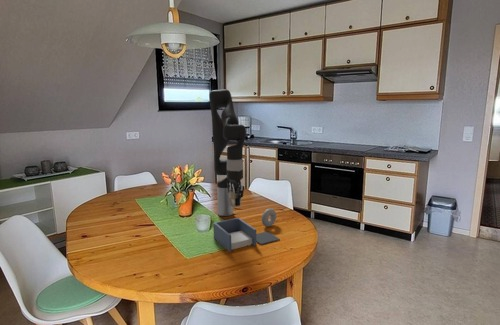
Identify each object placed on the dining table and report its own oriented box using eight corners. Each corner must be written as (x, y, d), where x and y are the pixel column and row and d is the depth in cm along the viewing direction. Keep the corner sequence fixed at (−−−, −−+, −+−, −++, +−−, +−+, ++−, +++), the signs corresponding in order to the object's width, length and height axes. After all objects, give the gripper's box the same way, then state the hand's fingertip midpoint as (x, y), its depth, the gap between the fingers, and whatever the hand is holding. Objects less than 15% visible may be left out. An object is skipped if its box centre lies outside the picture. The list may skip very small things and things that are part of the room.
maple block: (229, 205, 149) (229, 190, 147) (237, 203, 151) (237, 189, 149) (233, 207, 145) (233, 193, 144) (241, 206, 147) (241, 191, 146)
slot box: (213, 237, 157) (213, 222, 156) (238, 232, 164) (238, 217, 162) (229, 252, 142) (229, 235, 140) (256, 245, 148) (256, 229, 147)
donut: (264, 229, 167) (264, 211, 165) (260, 227, 169) (260, 210, 168) (277, 224, 174) (277, 207, 172) (273, 223, 176) (273, 206, 174)
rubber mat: (249, 236, 158) (249, 235, 158) (267, 232, 164) (267, 231, 163) (260, 245, 149) (260, 243, 149) (279, 240, 154) (279, 239, 154)
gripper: (221, 166, 149) (221, 201, 152) (234, 172, 137) (235, 210, 140) (235, 165, 153) (235, 199, 156) (249, 170, 140) (249, 207, 144)
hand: (235, 204), depth 148 cm, fingers closed on maple block, 4 cm apart
